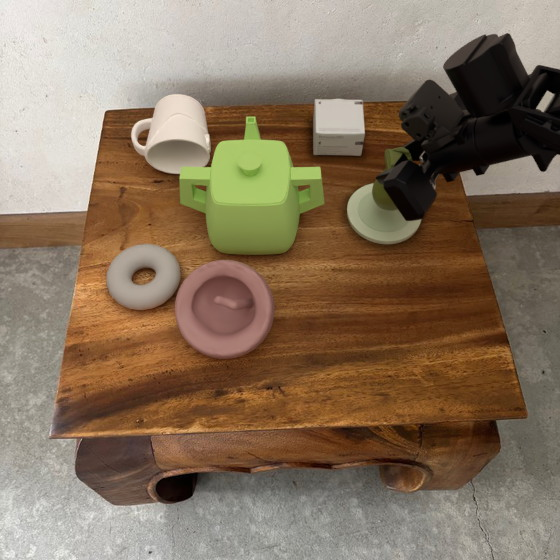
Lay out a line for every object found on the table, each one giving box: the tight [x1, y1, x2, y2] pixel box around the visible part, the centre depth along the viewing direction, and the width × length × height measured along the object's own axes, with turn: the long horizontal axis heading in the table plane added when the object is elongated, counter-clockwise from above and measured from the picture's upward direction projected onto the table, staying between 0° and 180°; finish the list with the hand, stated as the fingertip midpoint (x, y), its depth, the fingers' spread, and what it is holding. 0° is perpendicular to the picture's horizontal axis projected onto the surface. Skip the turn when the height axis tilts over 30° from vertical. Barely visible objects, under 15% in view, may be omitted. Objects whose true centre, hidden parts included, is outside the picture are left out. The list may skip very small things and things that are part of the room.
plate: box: [346, 182, 422, 245], centre depth 81 cm, size 11×11×1 cm
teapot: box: [178, 116, 325, 256], centre depth 76 cm, size 18×20×13 cm
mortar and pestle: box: [174, 259, 276, 360], centre depth 67 cm, size 12×12×12 cm
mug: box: [130, 93, 212, 175], centre depth 85 cm, size 12×9×8 cm
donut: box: [105, 243, 182, 311], centre depth 74 cm, size 10×4×10 cm
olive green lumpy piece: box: [372, 146, 414, 211], centre depth 75 cm, size 6×5×10 cm
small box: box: [312, 98, 366, 157], centre depth 87 cm, size 8×8×5 cm
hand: (386, 167), depth 74 cm, fingers closed on olive green lumpy piece, 5 cm apart
